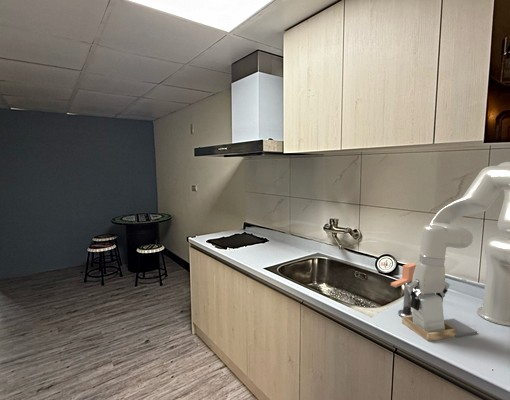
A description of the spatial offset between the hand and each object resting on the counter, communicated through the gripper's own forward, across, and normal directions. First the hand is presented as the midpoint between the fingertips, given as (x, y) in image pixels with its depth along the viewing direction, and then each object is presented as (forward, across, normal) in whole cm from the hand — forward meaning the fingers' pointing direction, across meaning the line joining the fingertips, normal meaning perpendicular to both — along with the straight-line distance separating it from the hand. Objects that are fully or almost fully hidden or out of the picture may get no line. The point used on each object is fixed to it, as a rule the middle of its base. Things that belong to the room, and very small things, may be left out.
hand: (426, 307), depth 102 cm
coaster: (+8, -12, +2) cm, 14 cm away
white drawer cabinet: (+8, -2, 0) cm, 8 cm away
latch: (-6, +3, -9) cm, 11 cm away
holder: (+8, -2, 0) cm, 9 cm away
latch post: (+8, -2, -10) cm, 13 cm away
